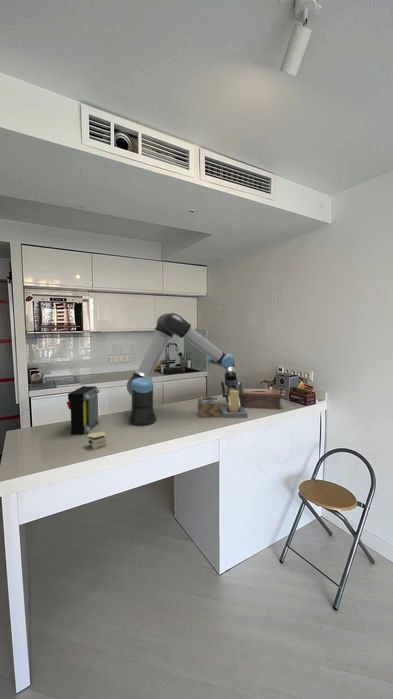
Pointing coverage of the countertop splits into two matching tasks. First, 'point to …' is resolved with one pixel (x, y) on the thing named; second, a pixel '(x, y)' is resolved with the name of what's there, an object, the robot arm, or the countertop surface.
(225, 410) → the lower jack plate
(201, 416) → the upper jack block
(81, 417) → the electrical component
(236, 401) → the pale yellow tall block
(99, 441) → the beige layered block
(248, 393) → the tissue box cover
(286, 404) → the countertop surface
